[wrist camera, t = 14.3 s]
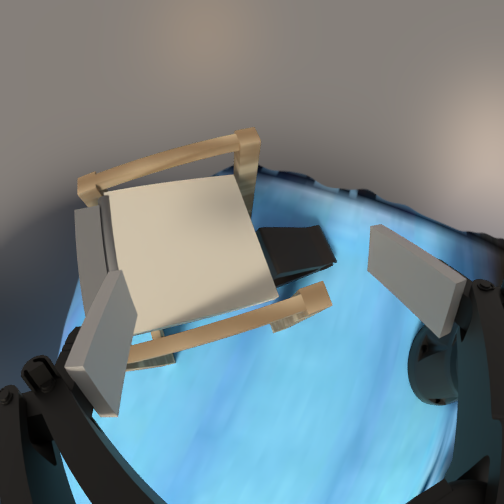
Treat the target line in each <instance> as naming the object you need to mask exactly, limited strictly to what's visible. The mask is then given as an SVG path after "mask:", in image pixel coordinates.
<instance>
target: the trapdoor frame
mask: <svg viewBox="0 0 504 504" xmlns="http://www.w3.org/2000/svg"><path fill="white" fill-rule="evenodd" d="M260 146H261V140H260V138H259V136H258V134H257V131H256V129H255V127H252V128H247V129H241V130H237V131H235V134H232V135H227V136H222V137H218V138H214V139H209V140H205V141H201V142H197V143H193V144H189V145H186V146H182V147H178V148H175V149H171V150H168V151H164V152H161V153H157V154H154V155H150V156H147V157H144V158H141V159H138V160H135V161H132V162H129V163H126V164H123V165H120V166H117V167H114V168H111V169H109V170H106V171H103V172H100V173H98V174H97V173H96V172H92V173H90V174H87V175H84V176H82V177H80V178H78V196H79V197H80V198H81V199H82V201H83V202H84V203H85V204H86V205H87V206H88V207H92V206H97V205H98V199H99V198H100V197H101V196H104V192H108V190H107V188H109V187H112V186H115V185H118V184H121V183H124V182H127V181H130V180H133V179H136V178H139V177H142V176H145V175H148V174H151V173H155V172H158V171H161V170H164V169H168V168H172V167H175V166H178V165H182V164H186V163H190V162H193V161H197V160H201V159H205V158H209V157H212V156H216V155H221V154H225V153H230V152H234V177H235V179H236V182H237V185H238V187H239V190H240V193H241V195H242V198H243V201H244V203H245V206H246V209H247V211H248V214H249V217H250V219H251V214H252V206H253V199H254V191H255V184H256V176H257V169H258V161H259V153H260ZM330 306H332V303H331V300H330V297H329V295H328V292H327V290H326V287H325V285H324V282H323V281H321V282H318V283H315V284H312V285H310V286H307V287H304V288H301V289H299V290H298V291H297V292H296V293H295V294H294V295H293V296H292V297H291V298H289V299H286V300H283V301H280V302H277V303H274V304H271V305H268V306H265V307H262V308H259V309H256V310H253V311H250V312H247V313H244V314H240V315H237V316H234V317H231V318H228V319H224V320H221V321H218V322H214V323H211V324H208V325H204V326H201V327H198V328H194V329H191V330H187V331H184V332H180V333H177V334H173V335H169V336H166V337H165V336H164V332H163V329H161V330H157V331H153V332H151V335H152V339H153V340H151V341H147V342H143V343H139V344H135V345H131V347H130V352H129V357H128V361H127V367H126V371H134V370H141V369H148V368H155V367H161V366H165V365H169V364H173V363H176V362H175V359H174V356H173V353H175V352H178V351H182V350H186V349H189V348H193V347H196V346H200V345H203V344H207V343H210V342H213V341H217V340H220V339H223V338H227V337H230V336H233V335H236V334H239V333H243V332H246V331H249V330H252V329H255V328H258V327H261V326H264V325H267V324H270V325H271V328H272V331H273V333H275V332H278V331H281V330H284V329H286V328H289V327H291V326H293V325H295V324H297V323H299V322H301V321H303V320H305V319H307V318H309V317H311V316H313V315H315V314H317V313H319V312H321V311H322V310H324V309H326V308H328V307H330Z"/></svg>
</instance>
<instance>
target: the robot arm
mask: <svg viewBox="0 0 504 504" xmlns="http://www.w3.org/2000/svg"><path fill="white" fill-rule="evenodd" d="M367 271H368V272H370V273H371V274H372V275H373V276H374V277H375V278H376V279H377V280H378V281H380V282H381V283H382V284H383V285H384V286H385V287H386V288H387V289H388V290H389V291H390V292H392V293H393V294H394V295H395V296H396V297H397V298H398V299H399V300H400V301H401V302H402V303H403V304H404V305H405V306H406V307H407V308H409V309H410V310H411V311H412V312H413V313H414V314H415V315H416V316H417V317H418V318H419V319H420V320H421V321H422V322H423V323H424V324H425V326H424V327H423V328H422V329H421V330H420V331H419V333H418V334H417V336H416V337H415V339H414V342H413V344H412V347H411V350H410V354H409V359H408V377H409V382H410V385H411V388H412V390H413V392H414V394H415V395H416V396H417V397H418V398H419V399H420V400H421V401H422V402H424V403H427V404H431V405H439V406H440V405H447V404H450V403H453V402H455V401H458V411H457V425H456V435H455V444H454V452H453V458H452V462H451V465H450V467H449V469H448V470H447V472H446V474H445V477H444V479H443V480H442V481H440V482H439V483H437V484H435V485H434V486H432V487H431V488H429V489H428V490H426V491H424V492H423V493H421V494H419V495H418V496H416V497H414V498H413V499H412V500H410V501H409V502H407V503H406V504H504V279H503V283H502V286H500V287H495V286H494V285H493V284H492V283H491V282H489V281H487V280H483V279H477V280H474V281H473V282H472V281H471V280H469V279H468V278H467V277H465V276H464V275H462V274H461V273H459V272H458V271H457V270H454V268H452V267H451V266H448V264H446V263H445V262H443V261H442V260H440V259H437V258H435V257H434V256H432V255H431V254H429V253H427V252H426V251H424V250H423V249H421V248H420V247H418V246H416V245H415V244H413V243H412V242H410V241H408V240H407V239H405V238H404V237H402V236H400V235H399V234H397V233H395V232H394V231H392V230H390V229H389V228H387V227H385V226H383V225H382V224H380V225H374V226H370V243H369V258H368V270H367ZM137 316H138V314H137V311H136V309H135V306H134V303H133V301H132V298H131V295H130V292H129V289H128V286H127V283H126V280H125V277H124V274H123V271H122V270H117V271H111V272H108V274H107V276H106V278H105V279H104V281H103V283H102V285H101V287H100V289H99V291H98V293H97V295H96V297H95V299H94V301H93V303H92V305H91V307H90V309H89V311H88V313H87V315H86V318H85V320H84V322H83V324H82V326H81V327H75V328H74V330H73V331H72V332H71V333H70V334H69V335H68V337H67V339H66V341H65V345H64V346H63V348H62V352H60V355H59V357H58V359H57V362H56V364H55V366H54V365H53V363H52V361H51V360H50V359H49V358H48V357H47V356H44V355H40V356H36V357H34V358H32V359H30V360H29V361H28V362H27V363H26V364H25V365H24V367H23V369H22V371H21V377H22V378H23V380H24V381H25V383H26V384H27V385H28V386H29V388H30V389H31V390H32V391H29V392H26V393H22V394H21V392H20V391H19V390H18V389H17V388H16V387H15V386H14V385H8V386H5V387H4V388H2V389H1V390H0V498H1V504H76V503H75V500H74V497H73V494H72V492H71V489H70V486H69V482H68V479H67V476H66V473H65V469H64V466H63V462H62V458H61V454H62V456H63V458H64V460H65V462H66V463H67V465H68V467H69V469H70V470H71V472H72V474H73V475H74V477H75V479H76V480H77V482H78V483H79V485H80V486H81V488H82V490H83V491H84V493H85V494H86V496H87V497H88V498H89V500H90V501H91V503H92V504H167V503H166V502H165V501H164V500H163V499H162V498H161V497H160V496H159V495H158V494H157V493H156V492H155V491H154V490H153V489H152V488H151V487H150V486H149V485H148V484H147V483H146V482H145V481H144V480H143V479H142V478H141V477H140V476H139V475H138V474H137V473H136V471H135V470H134V469H133V468H132V467H131V466H130V465H129V463H128V462H127V461H126V460H125V459H124V458H123V456H122V455H121V454H120V453H119V451H118V450H117V449H116V448H115V446H114V445H113V444H112V443H111V441H110V440H109V439H108V437H107V436H106V435H105V433H104V432H103V431H102V429H101V428H100V427H99V425H98V424H97V422H96V421H95V420H94V419H93V417H92V413H93V408H94V409H95V411H96V412H97V413H98V414H99V416H100V417H118V414H119V407H120V400H121V394H122V388H123V383H124V377H125V372H126V367H127V361H128V357H129V352H130V347H131V342H132V338H133V333H134V329H135V325H136V320H137ZM60 452H61V454H60Z"/></svg>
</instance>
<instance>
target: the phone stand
mask: <svg viewBox="0 0 504 504" xmlns="http://www.w3.org/2000/svg"><path fill="white" fill-rule="evenodd" d="M256 235H257V238H258V241H259V243H260V246H261V249H262V252H263V254H264V257H265V260H266V262H267V265H268V268H269V271H270V273H271V276H272V279H273V281H274V284H275V287H276V288H278V287H280V286H283V285H285V284H288V283H290V282H293V281H295V280H298V279H300V278H303V277H305V276H308V275H310V274H313V273H315V272H318V271H321V270H324V269H327V268H329V267H331V266H333V263H334V262H335V263H337V260H336V258H335V256H334V254H333V252H332V250H331V248H330V246H329V244H328V242H327V240H326V238H325V236H324V234H323V232H322V230H321V228H320V226H319V225H316V226H312V227H307V228H294V227H261V228H259V229H258V230H257V231H256Z"/></svg>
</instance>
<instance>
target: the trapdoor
mask: <svg viewBox="0 0 504 504" xmlns="http://www.w3.org/2000/svg"><path fill="white" fill-rule="evenodd" d="M75 230H76V231H75V232H76V248H77V259H78V268H79V278H80V285H81V292H82V299H83V305H84V311H85V317H86V315H87V313H88V311H89V309H90V307H91V305H92V303H93V301H94V299H95V297H96V295H97V293H98V291H99V289H100V287H101V285H102V283H103V281H104V279H105V278H106V276H107V274H108V272H111V271H117V270H122V271H123V274H124V277H125V280H126V283H127V286H128V289H129V292H130V295H131V298H132V301H133V303H134V306H135V309H136V311H137V314H138V316H137V320H136V325H135V329H134V333H133V336H135V335H139V334H144V333H148V332H153V331H157V330H161V329H165V328H170V327H174V326H178V325H182V324H186V323H190V322H194V321H198V320H202V319H206V318H210V317H213V316H217V315H221V314H225V313H228V312H232V311H236V310H239V309H243V308H247V307H250V306H254V305H257V304H261V303H264V302H268V301H271V300H274V299H276V298H277V297H279V295H278V292H277V290H276V287H275V284H274V281H273V279H272V276H271V273H270V271H269V268H268V265H267V262H266V260H265V257H264V254H263V252H262V249H261V246H260V243H259V241H258V238H257V235H256V233H255V230H254V227H253V225H252V222H251V219H250V217H249V214H248V211H247V209H246V206H245V203H244V201H243V198H242V195H241V193H240V190H239V187H238V185H237V182H236V179H235V177H234V175H224V176H214V177H205V178H197V179H189V180H180V181H173V182H165V183H158V184H152V185H145V186H139V187H133V188H127V189H121V190H115V191H110V192H104V196H101V197H100V198H99V199H98V205H97V206H92V207H88V208H83V209H78V210H75Z"/></svg>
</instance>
